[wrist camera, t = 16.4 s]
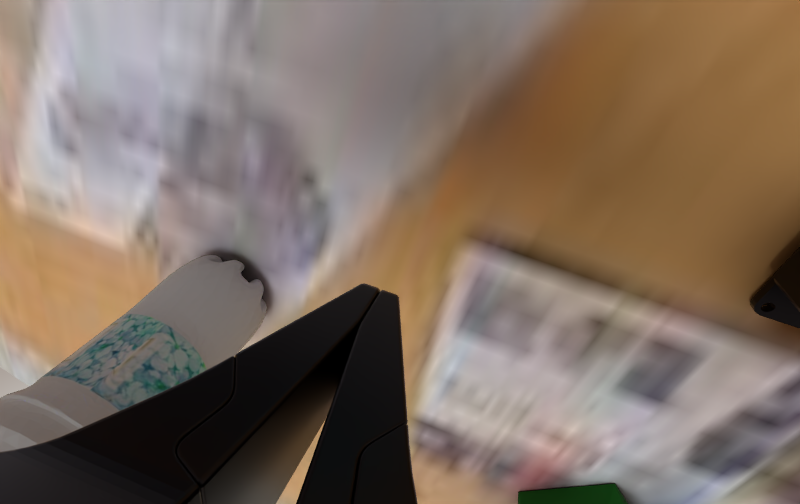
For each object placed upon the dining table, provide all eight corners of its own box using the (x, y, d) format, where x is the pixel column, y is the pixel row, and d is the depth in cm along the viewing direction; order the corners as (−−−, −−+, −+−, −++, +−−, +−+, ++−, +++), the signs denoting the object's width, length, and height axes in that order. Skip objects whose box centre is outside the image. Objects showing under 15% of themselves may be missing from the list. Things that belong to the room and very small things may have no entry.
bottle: (198, 225, 26) (-366, 603, 10) (290, 277, 26) (-117, 737, 10) (186, 292, 30) (-233, 644, 14) (265, 338, 30) (-56, 740, 14)
